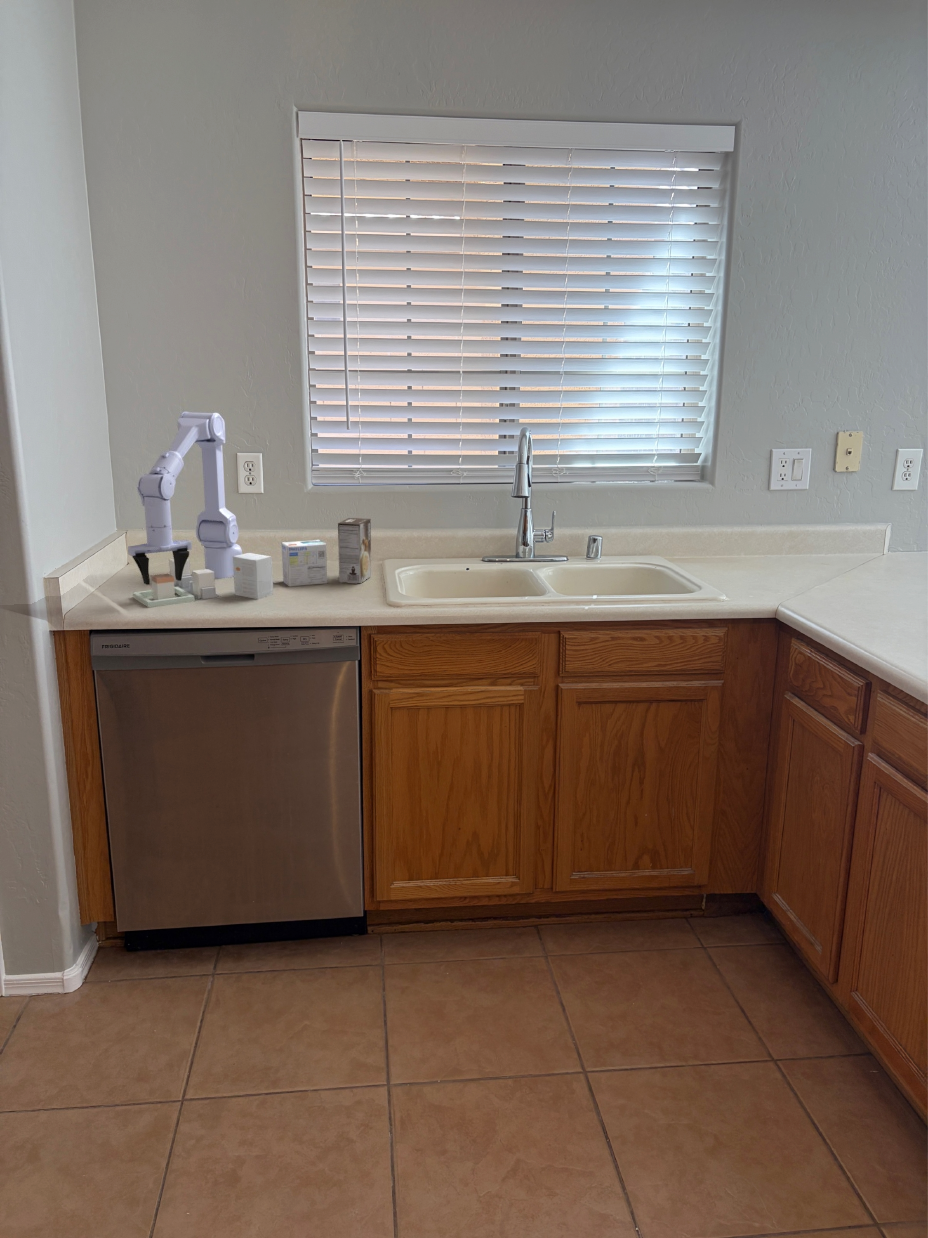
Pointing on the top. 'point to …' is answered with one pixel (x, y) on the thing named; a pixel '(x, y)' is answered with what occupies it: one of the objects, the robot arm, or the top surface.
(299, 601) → the top surface
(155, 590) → the block
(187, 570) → the block
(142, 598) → the tray
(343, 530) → the coffee box
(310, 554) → the light bulb box
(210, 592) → the fuse holder
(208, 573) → the block
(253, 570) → the small box
